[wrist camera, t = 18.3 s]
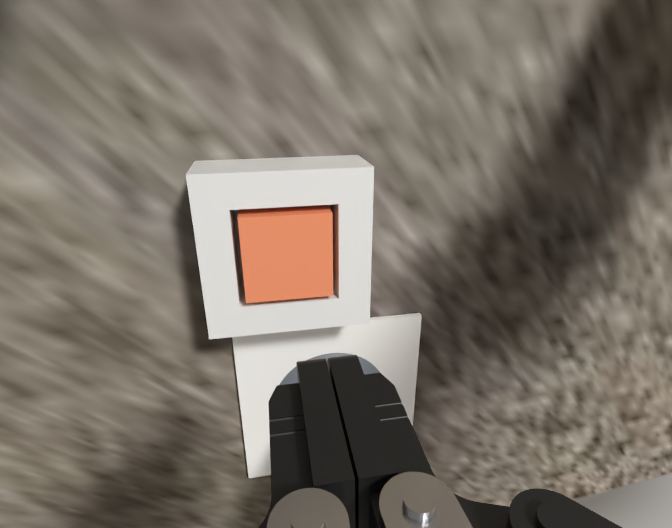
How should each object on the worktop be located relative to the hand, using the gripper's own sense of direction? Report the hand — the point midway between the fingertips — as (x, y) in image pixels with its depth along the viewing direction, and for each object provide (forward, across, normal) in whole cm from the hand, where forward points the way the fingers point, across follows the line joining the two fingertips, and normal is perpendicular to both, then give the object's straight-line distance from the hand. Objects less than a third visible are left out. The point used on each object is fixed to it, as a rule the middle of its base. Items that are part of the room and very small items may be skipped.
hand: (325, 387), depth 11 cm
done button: (+18, 0, +3) cm, 18 cm away
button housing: (+19, 0, +3) cm, 19 cm away
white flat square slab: (+19, -2, +17) cm, 25 cm away
